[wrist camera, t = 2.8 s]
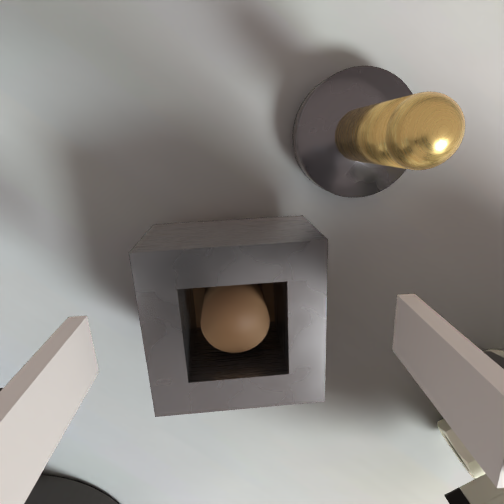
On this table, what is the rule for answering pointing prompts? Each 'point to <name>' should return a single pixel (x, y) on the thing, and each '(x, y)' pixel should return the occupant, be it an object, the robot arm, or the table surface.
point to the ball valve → (471, 470)
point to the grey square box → (225, 274)
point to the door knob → (372, 131)
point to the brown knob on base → (234, 315)
